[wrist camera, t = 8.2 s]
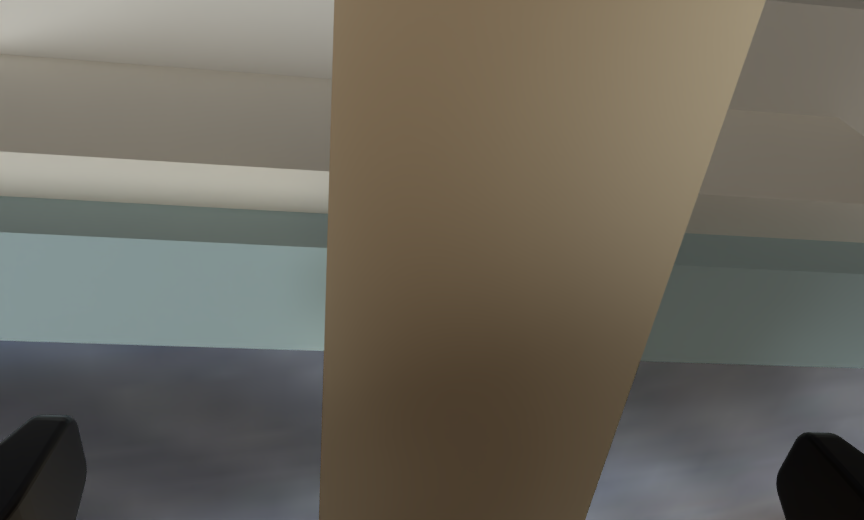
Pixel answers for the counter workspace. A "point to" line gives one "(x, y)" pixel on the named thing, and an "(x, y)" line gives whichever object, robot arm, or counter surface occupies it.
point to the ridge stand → (309, 183)
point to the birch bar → (504, 239)
